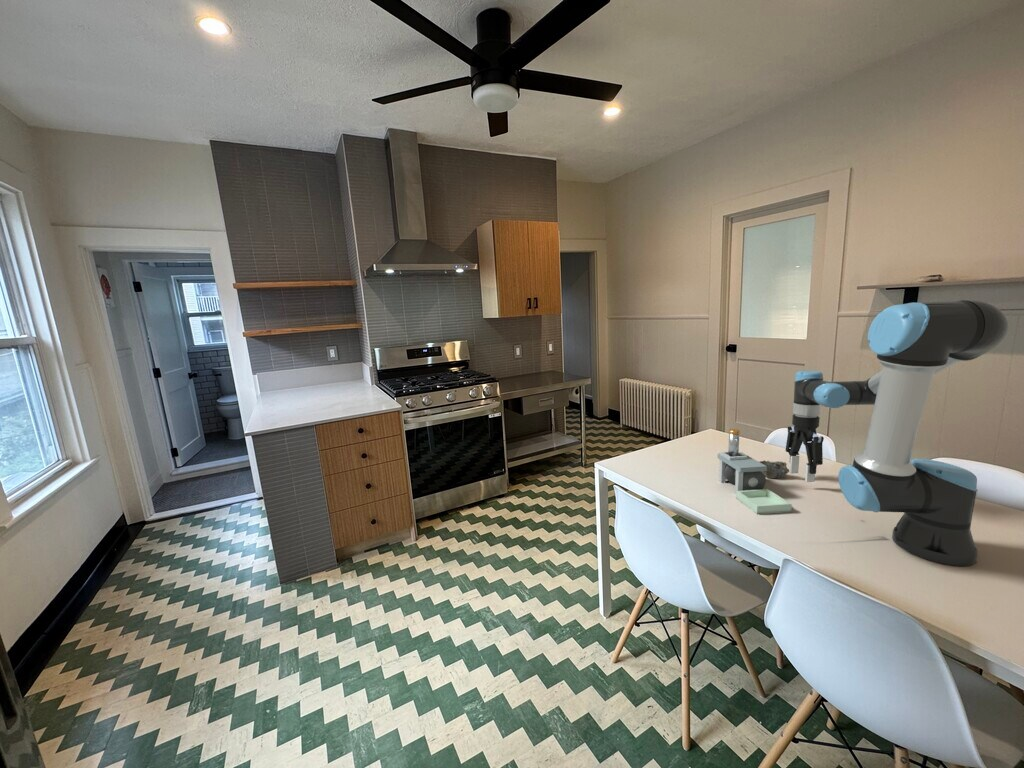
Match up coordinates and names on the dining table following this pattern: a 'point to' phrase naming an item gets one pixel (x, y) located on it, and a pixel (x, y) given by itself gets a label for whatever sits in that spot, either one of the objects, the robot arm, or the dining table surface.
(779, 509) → the tray
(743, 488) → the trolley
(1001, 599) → the dining table surface
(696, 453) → the dining table surface
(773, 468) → the rock
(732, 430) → the pin
